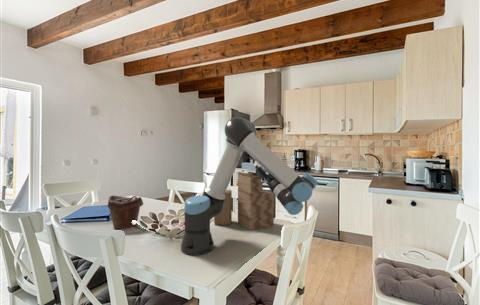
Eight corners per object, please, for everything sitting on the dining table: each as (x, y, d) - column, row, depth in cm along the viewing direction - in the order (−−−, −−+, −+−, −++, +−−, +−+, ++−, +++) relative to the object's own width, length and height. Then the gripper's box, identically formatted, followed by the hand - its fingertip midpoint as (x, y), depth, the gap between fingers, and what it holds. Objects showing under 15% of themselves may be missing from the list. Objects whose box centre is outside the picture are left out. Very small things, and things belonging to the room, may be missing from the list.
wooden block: (216, 220, 159) (216, 189, 158) (231, 220, 158) (231, 189, 158) (213, 225, 149) (213, 192, 148) (230, 225, 149) (230, 192, 148)
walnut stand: (250, 229, 140) (250, 174, 140) (237, 222, 154) (237, 172, 154) (273, 225, 148) (273, 173, 147) (259, 218, 162) (259, 171, 161)
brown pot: (148, 224, 149) (147, 195, 149) (112, 232, 136) (111, 200, 136) (137, 218, 163) (137, 191, 162) (103, 225, 149) (103, 196, 149)
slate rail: (264, 172, 131) (264, 165, 131) (241, 168, 154) (241, 162, 154) (270, 172, 133) (270, 165, 132) (246, 168, 156) (246, 162, 156)
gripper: (263, 196, 120) (243, 168, 138) (290, 193, 128) (268, 167, 146) (267, 183, 117) (246, 157, 135) (295, 181, 124) (272, 156, 142)
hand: (258, 162), depth 140 cm, fingers closed on slate rail, 3 cm apart
